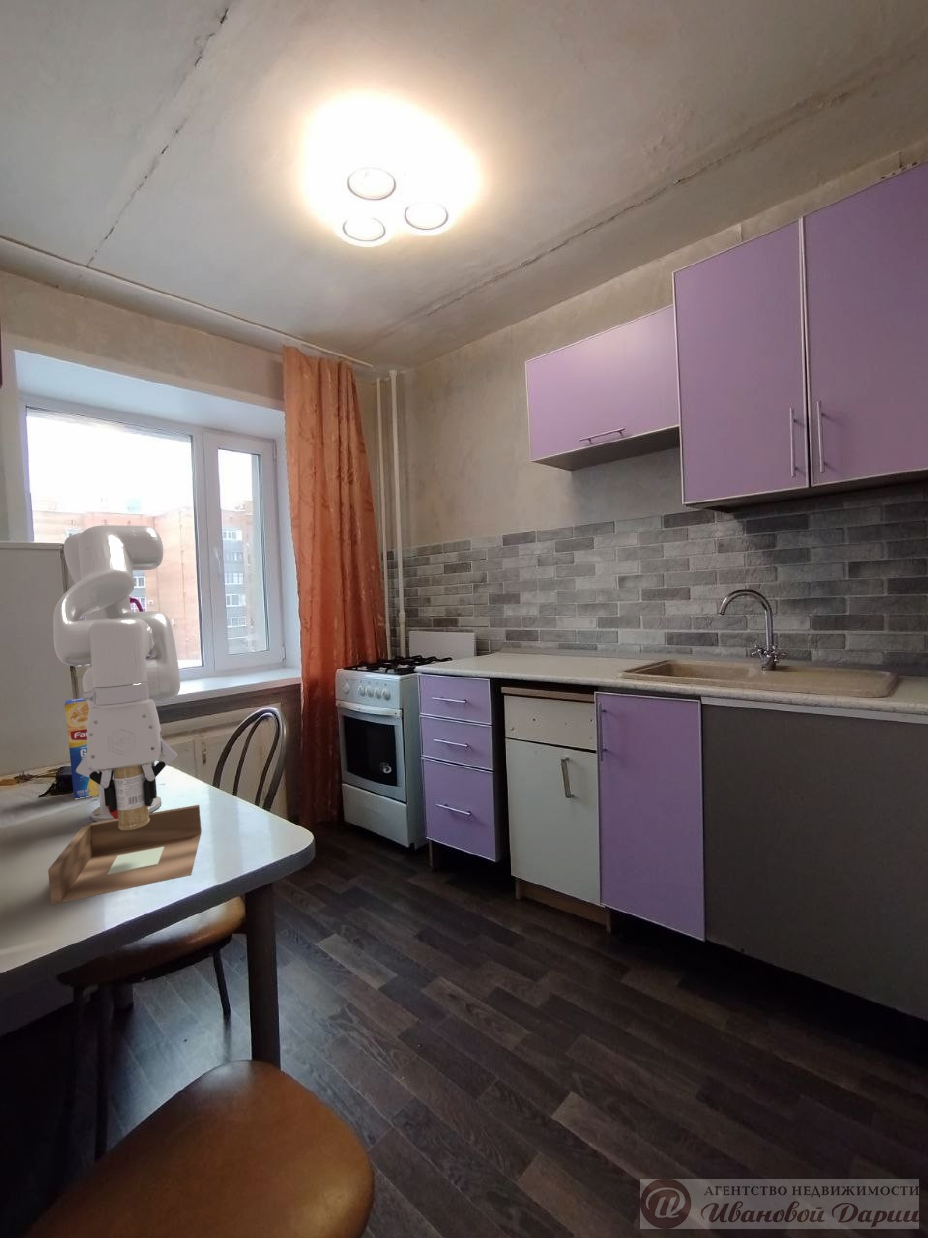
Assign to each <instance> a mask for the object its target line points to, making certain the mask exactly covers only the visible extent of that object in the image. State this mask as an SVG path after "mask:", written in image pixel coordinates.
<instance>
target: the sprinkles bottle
mask: <svg viewBox="0 0 928 1238" xmlns="http://www.w3.org/2000/svg"><path fill="white" fill-rule="evenodd" d="M113 770H114V785H115V795H116V806H117V812H118V821H119V825H118V828H119V829H121V830H131V829H136V828H139V827H142V826H144V825H146V824H147V823H148V822H149V821H150V818H149V816H148V806H145V796H144V786H143V783H144V782H145V774H144V770H143V768H142V765H139V766H132V767H125V768H119V769H113Z"/></svg>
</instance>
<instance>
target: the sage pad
mask: <svg viewBox="0 0 928 1238" xmlns="http://www.w3.org/2000/svg"><path fill="white" fill-rule="evenodd" d="M163 850H164V847H160V848H154V849H149V850H144V851H139V852H134V853H128V854H123V855H118V856H117V857H116V859H115V861H114V863H113V865H112V866H111V868H110V870H109V872H108V873H107V875H110V874H115V873H120V872H125V871H130V870H135V869H140V868H145V867H150V866H155V865H158V863H159V860H160V858H161V855H162V853H163Z"/></svg>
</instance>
